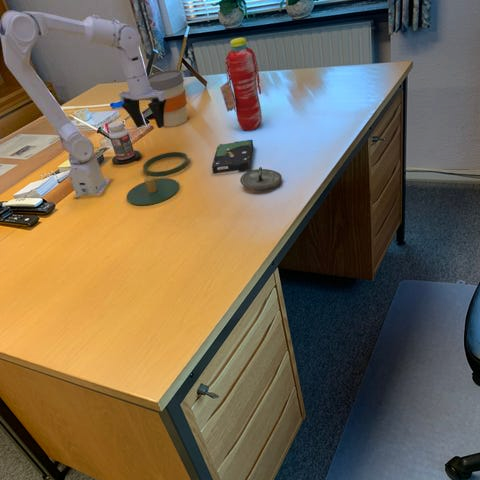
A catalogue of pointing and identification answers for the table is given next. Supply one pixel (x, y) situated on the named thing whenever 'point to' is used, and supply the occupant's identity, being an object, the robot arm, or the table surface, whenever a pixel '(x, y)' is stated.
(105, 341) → the table surface
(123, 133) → the pill bottle
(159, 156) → the dark green open loop
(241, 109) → the water bottle
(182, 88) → the reusable coffee cup
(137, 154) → the stand
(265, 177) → the lid
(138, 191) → the tin lid
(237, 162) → the disk drive
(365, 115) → the table surface
